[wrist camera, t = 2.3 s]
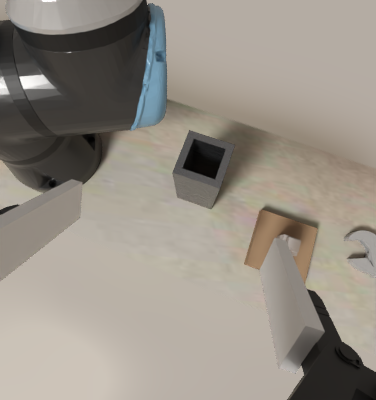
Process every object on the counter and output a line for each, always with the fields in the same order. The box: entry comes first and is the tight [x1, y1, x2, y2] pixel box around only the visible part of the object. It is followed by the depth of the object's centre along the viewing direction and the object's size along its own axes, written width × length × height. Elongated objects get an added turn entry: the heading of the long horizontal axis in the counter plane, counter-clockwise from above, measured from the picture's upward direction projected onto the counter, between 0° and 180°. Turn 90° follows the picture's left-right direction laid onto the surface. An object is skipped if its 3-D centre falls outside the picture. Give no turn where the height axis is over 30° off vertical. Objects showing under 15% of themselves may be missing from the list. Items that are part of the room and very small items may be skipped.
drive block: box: [244, 210, 318, 284], centre depth 36 cm, size 9×9×6 cm
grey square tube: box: [173, 130, 235, 209], centre depth 35 cm, size 6×6×12 cm
